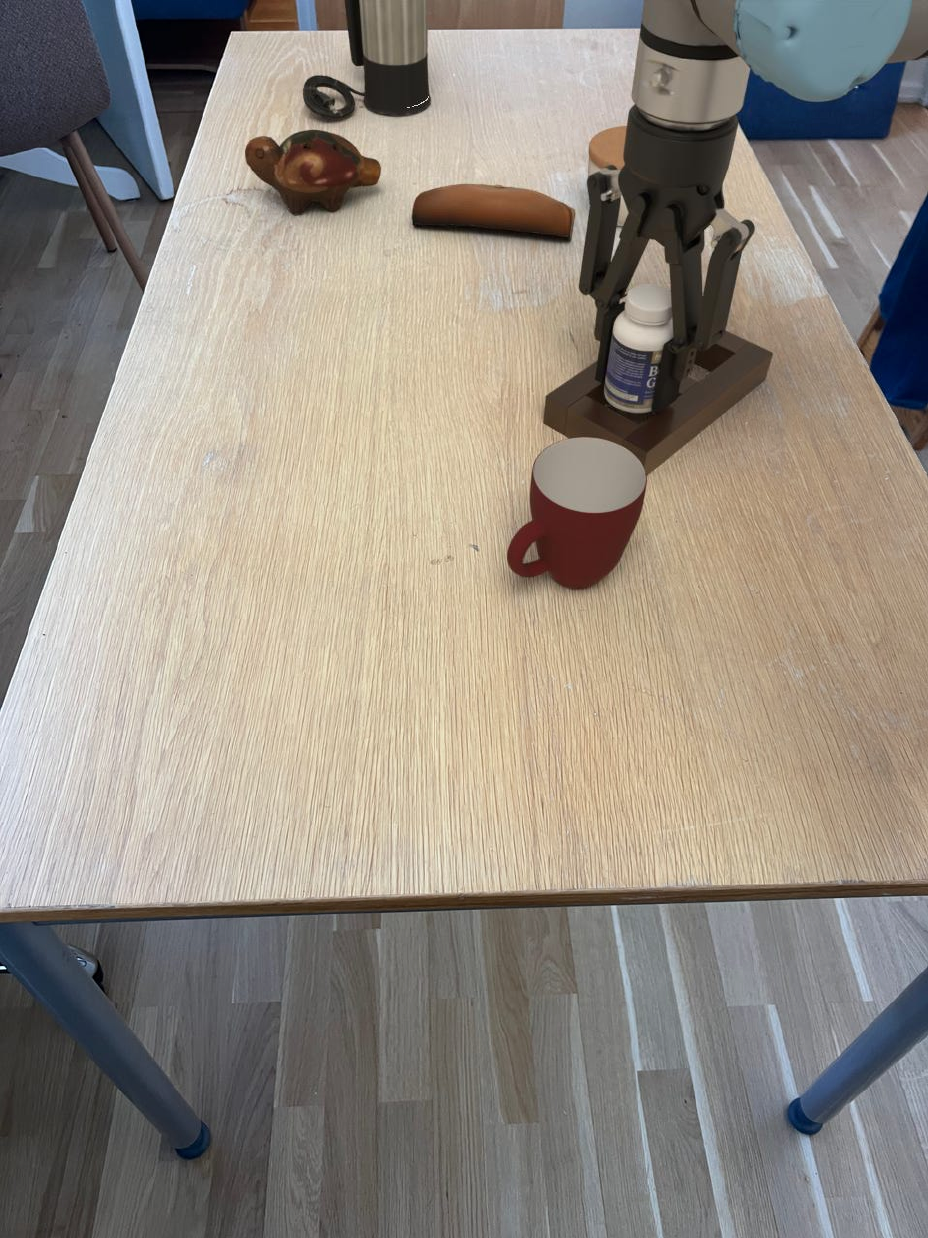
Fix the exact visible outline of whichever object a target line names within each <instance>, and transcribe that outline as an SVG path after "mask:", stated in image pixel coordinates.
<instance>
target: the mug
mask: <svg viewBox="0 0 928 1238" xmlns="http://www.w3.org/2000/svg"><path fill="white" fill-rule="evenodd" d="M647 485H648V475H647V474H646V470H645V468H644V466H643V464H642V462H641V461H640V460H639V459H638V457H637V456H636V455H635V454H633V453H632V452H631V451H630V450H628V449H626V448H625V447H623V446H621V445H619V444H617V443H614V442H612V441H608V440H605V439H600V438H593V437H576V438H566V439H562V440H559V441H556V442H554V443H552V444H550V445H548V446H547V447H545V448H544V449H543V450H542V451H541V452H539V454H538V455H537V456H536V458H535V459H534V462H533V465H532V469H531V475H530V485H529V508H530V515H531V520H530V521H528V522H527V523H525V524H523V525H522V526H521V527H520V528H519V529H518V530H517V531H516V533H515V534H514V535H513V537H512V539H511V540H510V542H509V545H508V548H507V552H506V561H507V564H508V567H509V569H510V570H511V571H512V572H513V573H514V574H515V575H517V576H518V577H520V578H524V579H526V578H527V579H528V578H534V577H537V576H540V575H542V574H545V573H546V572H548V574H549V575H550V577H552V579H553V580H554V581H555V582H556V583H557V584H559V585H560V586H562V587H564V588H566V589H570V590H585V589H586V590H587V589H588V588H591V587H593V586H595V585H596V584H598V583H600V582H601V580H603V579H604V578H605V577H606V576H608V575H609V574H610V573H611V572H612V571H613V570H614V569H615V568H616V566H617V565H618V564H619V562H620V561H621V559H622V557H623V554H624V552H625V550H626V548H627V546H628V544H629V542H630V540H631V537H632V536H633V533H634V531H635V528H636V527H637V525H638V523H639V520H640V517H641V514H642V511H643V507H644V503H645V498H646V497H645V496H646V491H647ZM534 543H535V548H536V553H537V555H538V558H537V559H536V560H533V561H529V562H524V561H525V557H526V554H527V552H528V550H529V549H530V547H531V546H532V545H533V544H534Z"/></svg>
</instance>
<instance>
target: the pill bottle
mask: <svg viewBox="0 0 928 1238" xmlns="http://www.w3.org/2000/svg"><path fill="white" fill-rule="evenodd" d="M626 293H627V296H626V298H625V302H626V303H625V310H624V311H623V312H621V313H620V314H619V315H618V317H617V318H616V320H615V322H614V327H613V332H612V339H611V346H610V352H609V359H608V365H607V371H606V378H605V385H604V394H605V397H606V399H607V401H608V402H609V403H608V404H610V406H612V407H614V408H615V409H617V410H618V411H619V410H620V411H621V412H625V413H630V414H646V413H651V412H654V411H653V410H651V408H652V403H653V398H654V393H655V388H656V383H657V377H658V372H659V367H660V362H661V357H662V352H663V346H664V344H665V343H666V342H668V341H669V340H670V339H672V338H673V321H672V303H671V288H670V289H669V288H668V287H666V286H664V285H660V284H656V283H641V284H637V285H635V286H633V287H631V288H630V289H629V290H628V291H627V292H626Z"/></svg>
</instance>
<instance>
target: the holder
mask: <svg viewBox="0 0 928 1238" xmlns="http://www.w3.org/2000/svg"><path fill="white" fill-rule="evenodd" d="M773 356H774V352H772V351H770V350H768V349H767V348H764V347H762V346H760V345H757V344H755V343H754V342H751V341H749V340H747V339H745V338H743V337H741V336H738V335H736V334H735V333H732V332H729V331H728V330H727V329H726V330H725V335H724V337H723V338H722V339H720V340H719V341H718V342H716V343H715V344H714V345H712V346H711V347H710V348H708V349H707V350H705V351H703V352H701V351H699V350H697V352H696V357H695V360H694V365H695V364H696V365H698V366H699V367H702V368H704V369H705V370H707V371H709V372H710V373H708V374H707V375H705V376H704V377H703V378H702V379H700V380H699V381H697V380H695V379H694V378H691V377H689V376H687V377H685V378H684V379H683V380H681V383H680V388H679V392H678V397H677V400H676V401H674V402H673V403H672V404H670V405H669V406H668V407H666V408H665V409H664V410H662V411H661V412H660V413H659V414H658V413H656V414H654V415H653V416H652V417H651V418H649V419H648V420H646V421H645V422H644V423H643V424H642V425H641V424H638V423H636V422H634V421H633V420H631V419H630V418H628V417H626V416H624V415H622V414H620V413H618V412H616V411H615V410H613V409H611V408H609V407H608V406H606V405H608V404H610V403H609V402H608V401H607V399H606V397H605V394H604V385H605V381H604V382H603V383H600V382H598V381H597V380H595V376H596V368H597V361H598V359H597V360H596V361H594V362H593V363H591V364H590V365H588V366H586V367H585V368H583V370H581V371H579V372H578V373H576V374H575V375H574V376H573V377H571V378H569V379H568V380H567V381H565V382H564V383H562V384H561V385H559V386H558V387H556V388H555V389H553V390H552V391H550V392H549V393H547V394H546V395H545V396H544V397H545V399H544V409H543V420H542V421H543V424H545V425H546V426H548V427H550V428H551V429H553V430H554V431H557V432H558V433H560V434H562V435H564V437H567V439H569V438H576V437H593V438H600V439H605V440H608V441H612V442H614V443H617V444H619V445H621V446H623V447H625V448H626V449H628V450H630V451H631V452H632V453H633V454H635V455H636V456H637V457H638V459H639V460H640V461H641V462H642V464H643V466H644V468H645V470H646V474H647V476H648V475H649V474H651V473H652V472H653V471H654V470H656V469H657V468H659V466H661V465H662V464H663V463H665V462H666V461H667V460H668V459H669V458H670V457H672V456H673V455H674V454H676V453H677V452H678V451H679V450H680V449H682V448H683V447H684V446H685V445H687V444H688V443H689V442H690V441H692V440H693V439H694V438H695V437H696V436H698V435H699V434H700V433H702V432H703V431H704V430H705V429H706V428H708V427H709V426H710V425H711V424H713V423H714V422H716V420H717V419H719V418H721V416H722V415H724V414H725V413H726V412H727V411H729V410H730V409H731V408H732V407H734V406H735V405H736V404H738V402H740V401H741V400H742V399H744V398H745V397H746V396H747V395H748V394H750V393H751V392H752V391H753V390H754V389H756V388H757V387H759V386H760V385H761V384H762V383H763V382H765V381H766V379H767V377H768V376H767V375H768V372H769V370H770V369H769V368H770V366H771V362H772V359H773Z"/></svg>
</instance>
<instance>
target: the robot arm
mask: <svg viewBox="0 0 928 1238" xmlns="http://www.w3.org/2000/svg"><path fill="white" fill-rule="evenodd" d="M921 59H928V0H643V5H642V13H641V21H640V29H639V33H638V42H637V50H636V58H635V64H634V65H635V66H634V73H633V80H632V86H631V88H632V89H631V95H630V96H631V100H632V102H633V103H634V104H633V105H632V106H631V107H630V109H629V110H628V115H627V122H626V126H627V129H626V136H625V144H624V151H623V159H624V163H625V164H624V166H623V168H622V169H621V170H617V168H616V167H615V166H614V165H609V166H607V167H605V168H603V169H601V170H600V171H598V172H596V173H594V174H592V175H590V176H589V177H588V176H587V178H586V188H587V195H588V202H589V210H588V216H587V223H586V231H585V238H584V245H583V251H582V259H581V267H580V273H579V280H578V289H579V292H580V294H581V295H583V296H590V297H591V298H592V299H593V300H594V305H595V307H596V313H595V324H594V330H593V335H594V339H595V340H596V341H598V342H599V347H598V355H597V360H598V361H597V360H596V361H597V368H596V376H595V380H597V381H598V382H600V383H603V382H604V381H605V378H606V371H607V365H608V359H609V352H610V346H611V339H612V332H613V327H614V322H615V320H616V318H617V317H618V315H619V314H620V313H621V312H623V311H624V310H625V303H626V301H622V302H621V300H623V299H624V298H625V297H627V293H628V292H627V290H628V288H629V286H630V283H631V282H632V279H633V278H634V275H635V273H636V270H637V268H638V266H639V264H640V261H641V259H642V257H643V255H644V253H645V250H646V249H647V245H648V243H649V242H650V240H653V241H655V242H657V243H658V244H659V245H660V246H662V247H663V250H664V262H665V263H666V264H668V266H669V268H668V269H669V284H670V290H671V303H672V321H673V338H672V339H670V340H669V341H668V342H666V343H665V344H664V346H663V352H662V357H661V362H660V367H659V372H658V377H657V383H656V388H655V393H654V398H653V403H652V408H651V410H653V411H652V412H654V413H656V414H657V413H658V414H659V413H660V412H661V411H662V410H664V409H665V408H666V407H668V406H669V405H670V404H672V403H673V402H674V401H676V400H677V397H678V392H679V388H680V383H681V380H683V379H684V378H685V377H689V375H690V374H691V373H692V372H693V370H694V366H695V363H694V360H695V357H696V352H697V350H699V351H701V352H703V351H705V350H707V349H708V348H710V347H711V346H712V345H714V344H715V343H716V342H718V341H719V340H720V339H722V338H723V337H724V335H725V330H726V331H727V325H728V321H729V316H730V311H731V306H732V301H733V297H734V293H735V287H736V283H737V279H738V275H739V274H738V273H739V269H740V265H741V260H742V255H743V251H744V249H745V248H746V246H747V245H748V243H749V241H750V240H751V238H752V237H753V235H754V233H755V231H756V226H755V224H754V222H753V221H752V220H751V219H747V218H746V219H743V220H742V221H739V220H738V219H736V217H735V216H733V215H732V214H731V213H730V212H728V211H727V210H726V209H725V204H726V203H725V197H724V190H723V186H724V182H725V179H726V176H727V174H728V171H729V168H730V165H731V159H732V155H733V150H734V146H735V142H736V137H737V133H738V127H739V118H738V116H737V114H738V113H740V111H741V110H742V108H743V106H744V103H745V98H746V93H747V88H748V87H747V86H748V83H749V82H748V81H749V77H750V73H751V71H752V73H753V74H754V75H755V76H759V77H760V79H762V80H763V81H764V82H765V83H772V85H774V86H775V87H776V88H777V89H781V90H782V91H784V92H786V93H787V94H789V95H790V96H792V97H794V98H796V99H799V100H802V101H805V102H815V103H819V102H820V103H821V102H828V101H834V100H837V99H840V98H842V97H843V96H846V95H847V94H848V93H849V92H850V91H852V90H853V89H855V88H856V87H857V86H859V85H861V84H864V83H867V82H869V80H870V79H872V78H874V76H875V75H876V74H877V73H879V71H881V69H882V68H884V66H885V64H894V63H895V64H896V63H904V62H909V61H919V60H921ZM621 195H622V196H623V199H624V202H625V204H626V207H627V210H628V215H627V218H626V220H625V223H624V225H623V227H621V230H620V232H619V234H618V238H619V239H620V240H619V242H618V244H617V247H616V248H615V251H614V247H615V240H616V234H617V228H618V226H617V222H618V216H619V210H620V203H621ZM710 226H711V227H712V231H713V235H712V239H711V241H710V246H711V248H713V251H712V252H711V255H710V258H709V261H708V264H707V265H708V266H707V271H706V276H705V282H704V287H703V268H702V265H703V263H702V254H703V251H704V249H705V243H706V241H705V230H707V229H708V228H709V227H710ZM613 251H614V253H613Z"/></svg>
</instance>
